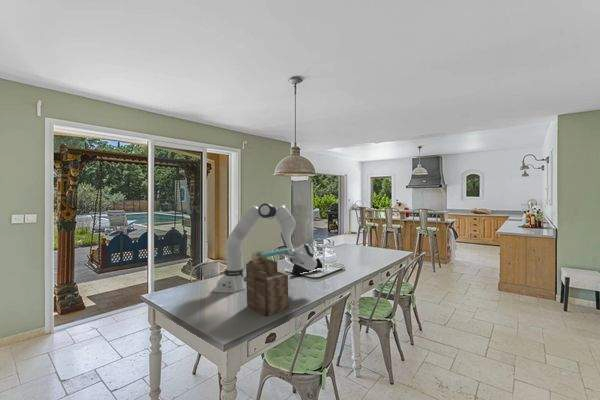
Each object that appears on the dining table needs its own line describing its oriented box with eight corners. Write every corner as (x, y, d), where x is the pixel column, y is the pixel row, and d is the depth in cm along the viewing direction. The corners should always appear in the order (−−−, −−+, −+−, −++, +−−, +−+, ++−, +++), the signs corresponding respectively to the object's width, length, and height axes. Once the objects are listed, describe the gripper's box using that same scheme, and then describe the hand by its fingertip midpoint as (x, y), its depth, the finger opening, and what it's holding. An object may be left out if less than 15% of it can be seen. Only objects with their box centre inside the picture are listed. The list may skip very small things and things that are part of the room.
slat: (287, 251, 187) (287, 248, 187) (291, 251, 184) (291, 248, 184) (259, 256, 172) (259, 253, 172) (263, 257, 170) (263, 254, 169)
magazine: (290, 266, 232) (318, 251, 248) (288, 265, 235) (316, 250, 251) (296, 285, 235) (323, 269, 251) (294, 284, 238) (321, 268, 254)
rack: (268, 299, 184) (267, 249, 183) (288, 308, 169) (287, 254, 168) (247, 306, 173) (245, 253, 172) (266, 316, 158) (265, 258, 158)
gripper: (290, 251, 200) (276, 243, 192) (310, 255, 185) (296, 247, 176) (287, 260, 198) (272, 252, 190) (307, 264, 183) (293, 257, 174)
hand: (284, 250), depth 183 cm, fingers closed on slat, 4 cm apart
